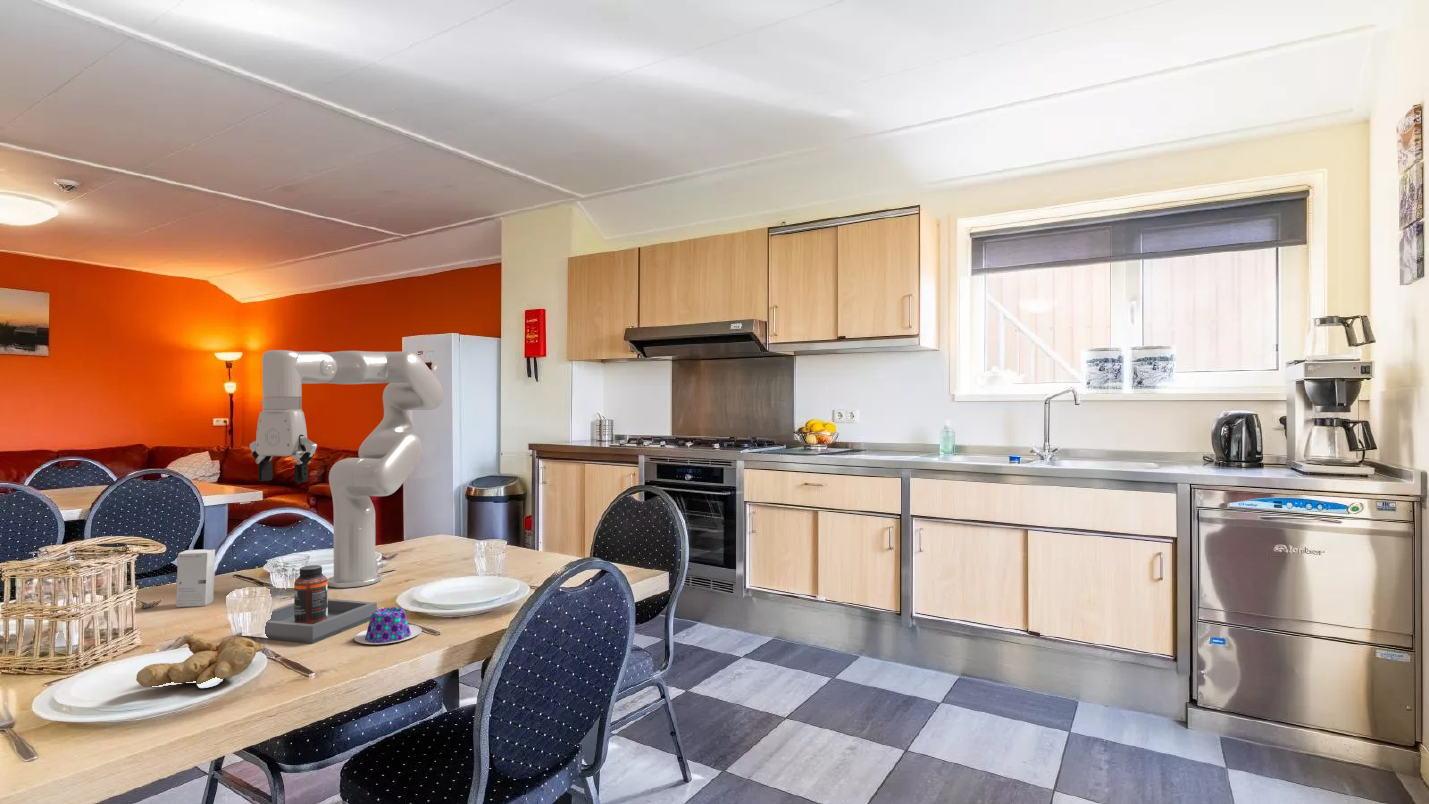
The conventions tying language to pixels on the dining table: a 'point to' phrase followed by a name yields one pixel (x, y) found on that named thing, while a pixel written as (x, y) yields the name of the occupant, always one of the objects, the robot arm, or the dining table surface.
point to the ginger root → (203, 662)
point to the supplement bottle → (310, 595)
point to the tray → (338, 620)
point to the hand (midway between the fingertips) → (283, 481)
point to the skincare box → (195, 578)
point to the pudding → (387, 627)
